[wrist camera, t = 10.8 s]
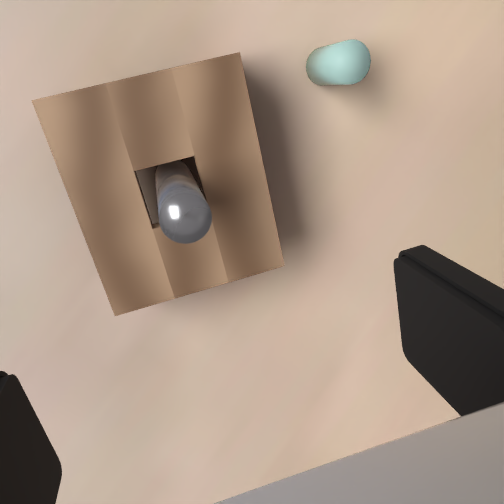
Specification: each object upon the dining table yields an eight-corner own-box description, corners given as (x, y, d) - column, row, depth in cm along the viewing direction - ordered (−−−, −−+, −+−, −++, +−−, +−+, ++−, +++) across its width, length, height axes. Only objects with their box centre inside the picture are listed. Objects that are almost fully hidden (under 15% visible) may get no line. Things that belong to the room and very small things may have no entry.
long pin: (185, 154, 33) (204, 186, 22) (194, 188, 34) (217, 235, 23) (150, 164, 32) (151, 200, 21) (161, 197, 33) (167, 249, 22)
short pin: (336, 43, 32) (367, 35, 28) (341, 80, 33) (372, 79, 29) (303, 51, 32) (329, 44, 27) (309, 89, 33) (335, 88, 28)
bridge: (224, 58, 31) (239, 52, 26) (265, 241, 36) (284, 265, 31) (51, 99, 30) (31, 100, 25) (120, 283, 35) (115, 316, 30)
